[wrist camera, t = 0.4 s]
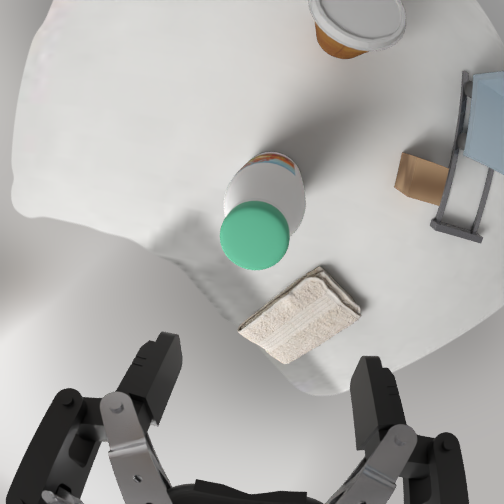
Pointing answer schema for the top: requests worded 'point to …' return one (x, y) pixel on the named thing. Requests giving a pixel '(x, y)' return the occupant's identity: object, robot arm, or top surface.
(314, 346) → the washcloth
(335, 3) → the disposable coffee cup
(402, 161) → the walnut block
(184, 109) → the top surface
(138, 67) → the top surface
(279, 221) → the milk bottle
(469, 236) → the rails
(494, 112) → the pale blue l-shaped block
